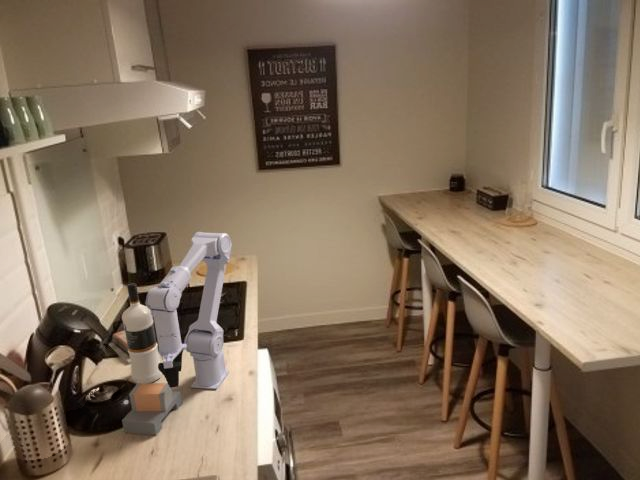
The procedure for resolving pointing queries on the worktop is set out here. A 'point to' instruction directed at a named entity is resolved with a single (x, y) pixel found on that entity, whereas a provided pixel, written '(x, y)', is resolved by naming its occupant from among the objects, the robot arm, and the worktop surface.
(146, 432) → the stand
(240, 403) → the worktop surface
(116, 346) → the packaged product
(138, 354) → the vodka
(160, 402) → the block
